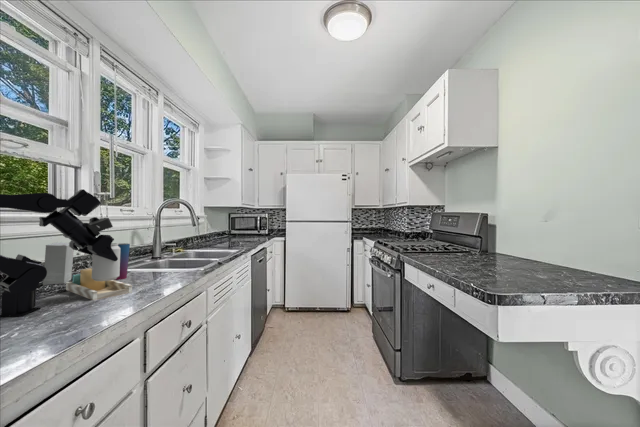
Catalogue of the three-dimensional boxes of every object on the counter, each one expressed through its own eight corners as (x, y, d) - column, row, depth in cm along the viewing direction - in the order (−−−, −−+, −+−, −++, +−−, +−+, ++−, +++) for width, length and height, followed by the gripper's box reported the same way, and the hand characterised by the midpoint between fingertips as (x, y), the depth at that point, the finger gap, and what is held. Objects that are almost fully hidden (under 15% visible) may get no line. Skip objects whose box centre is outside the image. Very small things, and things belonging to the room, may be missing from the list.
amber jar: (97, 291, 98) (97, 271, 98) (74, 292, 97) (75, 271, 97) (109, 286, 105) (110, 267, 105) (88, 286, 104) (89, 267, 104)
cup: (104, 281, 116) (105, 244, 116) (120, 278, 123) (121, 243, 123) (117, 282, 114) (118, 245, 114) (133, 279, 121) (133, 243, 121)
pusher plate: (101, 284, 106) (102, 271, 106) (73, 289, 99) (73, 275, 99) (100, 284, 107) (101, 271, 107) (72, 288, 100) (72, 275, 100)
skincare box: (51, 282, 113) (52, 242, 113) (74, 281, 116) (75, 241, 116) (41, 287, 105) (42, 244, 105) (66, 285, 108) (67, 243, 108)
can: (124, 277, 99) (126, 242, 99) (106, 282, 91) (108, 244, 92) (104, 276, 99) (106, 242, 100) (85, 281, 92) (86, 244, 92)
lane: (131, 294, 97) (132, 285, 97) (93, 302, 88) (93, 292, 88) (102, 285, 109) (103, 277, 109) (65, 292, 99) (66, 282, 99)
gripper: (107, 209, 88) (144, 243, 97) (82, 209, 97) (117, 240, 107) (74, 235, 81) (116, 269, 90) (51, 232, 91) (91, 263, 100)
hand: (111, 259), depth 97 cm, fingers closed on can, 7 cm apart
